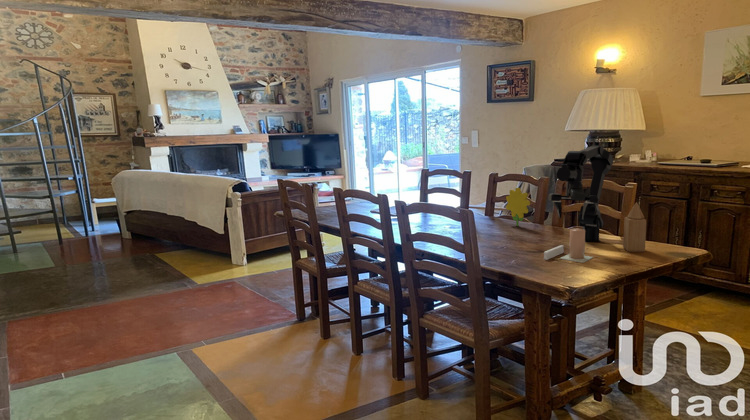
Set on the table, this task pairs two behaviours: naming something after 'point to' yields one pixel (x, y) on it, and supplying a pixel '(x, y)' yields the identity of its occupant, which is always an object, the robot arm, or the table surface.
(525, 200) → the decorative item
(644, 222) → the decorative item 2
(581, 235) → the tan round cylinder
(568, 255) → the tile
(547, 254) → the low wall
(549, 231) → the table surface
